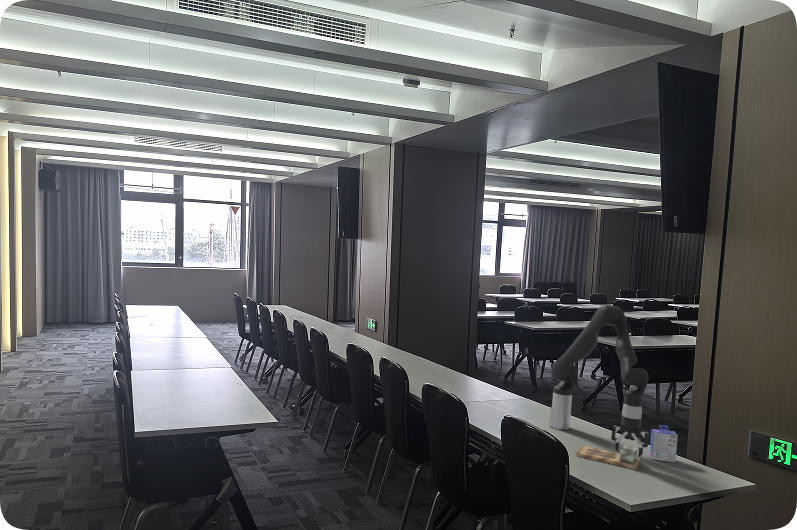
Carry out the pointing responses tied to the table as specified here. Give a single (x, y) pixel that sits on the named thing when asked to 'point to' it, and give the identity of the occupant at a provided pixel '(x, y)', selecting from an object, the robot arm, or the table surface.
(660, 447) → the ink cartridge box
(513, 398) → the table surface
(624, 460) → the block
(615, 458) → the tan wooden board
